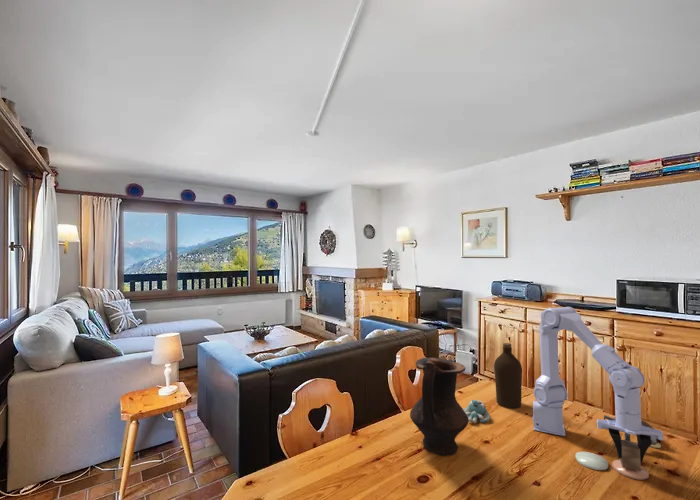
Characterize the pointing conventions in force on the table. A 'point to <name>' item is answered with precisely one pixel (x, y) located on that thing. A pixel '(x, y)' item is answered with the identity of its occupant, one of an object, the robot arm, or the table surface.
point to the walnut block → (630, 455)
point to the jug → (439, 406)
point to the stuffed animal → (477, 411)
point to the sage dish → (591, 461)
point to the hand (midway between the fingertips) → (629, 458)
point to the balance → (627, 436)
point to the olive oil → (508, 378)
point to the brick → (649, 427)
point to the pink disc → (630, 471)
